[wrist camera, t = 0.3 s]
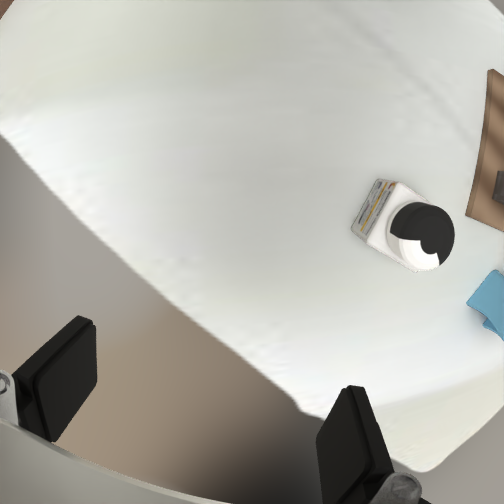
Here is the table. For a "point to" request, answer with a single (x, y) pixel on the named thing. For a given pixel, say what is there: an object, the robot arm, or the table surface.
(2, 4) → the tissue box cover
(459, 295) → the table surface
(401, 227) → the container
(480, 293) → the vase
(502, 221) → the stand
